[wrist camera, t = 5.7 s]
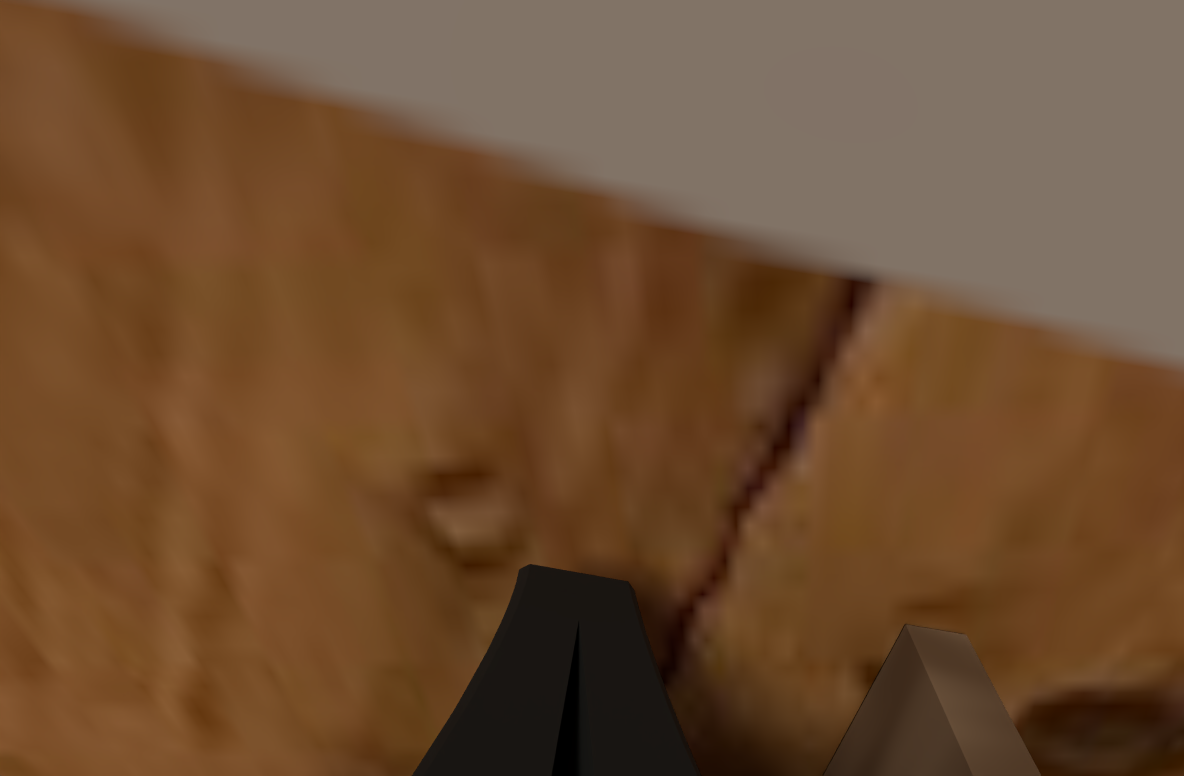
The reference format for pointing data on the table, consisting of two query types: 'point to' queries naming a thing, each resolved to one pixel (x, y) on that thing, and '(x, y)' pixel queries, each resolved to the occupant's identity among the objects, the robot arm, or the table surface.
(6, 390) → the table surface
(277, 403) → the table surface
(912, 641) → the wooden l-shaped bracket
